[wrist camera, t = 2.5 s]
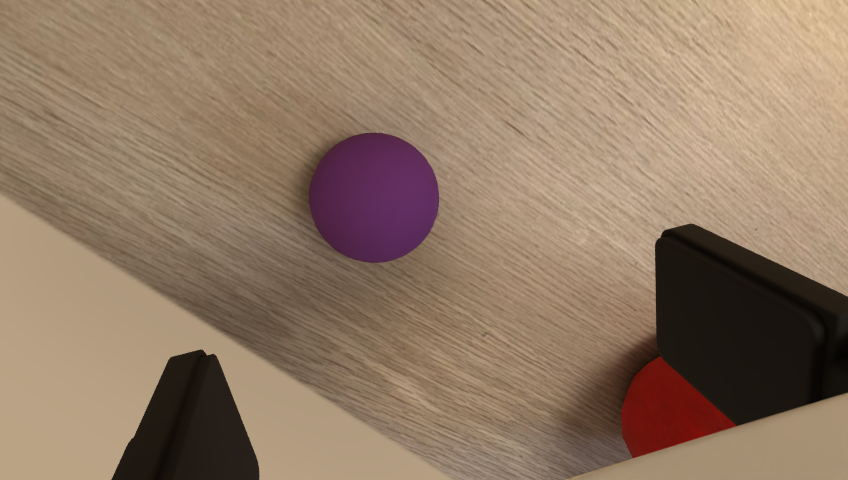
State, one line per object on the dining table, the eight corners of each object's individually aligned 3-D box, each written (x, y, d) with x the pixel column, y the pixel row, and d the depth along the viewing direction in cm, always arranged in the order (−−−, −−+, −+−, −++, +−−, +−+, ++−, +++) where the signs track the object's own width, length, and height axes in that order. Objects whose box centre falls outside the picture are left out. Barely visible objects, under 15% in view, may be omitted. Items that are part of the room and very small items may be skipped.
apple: (778, 355, 32) (1082, 556, 20) (667, 478, 34) (881, 735, 21) (670, 273, 28) (963, 460, 16) (550, 417, 30) (729, 688, 17)
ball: (303, 231, 23) (303, 279, 18) (314, 115, 21) (317, 136, 17) (414, 241, 24) (440, 288, 20) (432, 132, 23) (465, 155, 18)
